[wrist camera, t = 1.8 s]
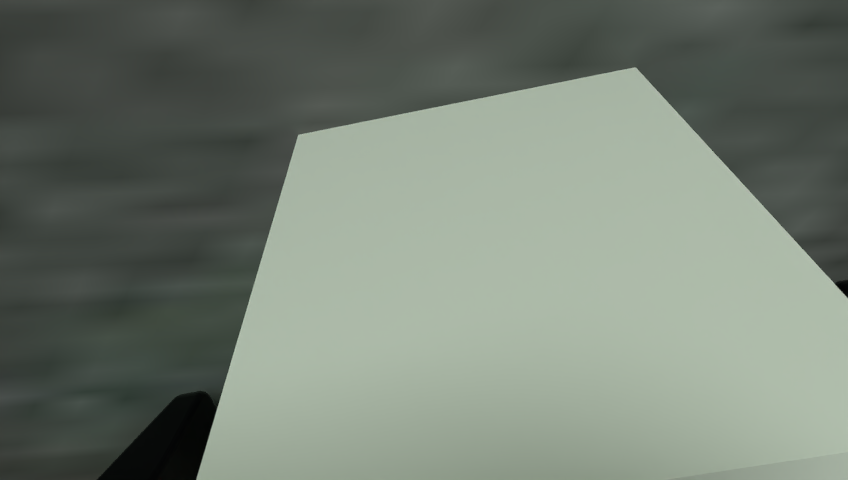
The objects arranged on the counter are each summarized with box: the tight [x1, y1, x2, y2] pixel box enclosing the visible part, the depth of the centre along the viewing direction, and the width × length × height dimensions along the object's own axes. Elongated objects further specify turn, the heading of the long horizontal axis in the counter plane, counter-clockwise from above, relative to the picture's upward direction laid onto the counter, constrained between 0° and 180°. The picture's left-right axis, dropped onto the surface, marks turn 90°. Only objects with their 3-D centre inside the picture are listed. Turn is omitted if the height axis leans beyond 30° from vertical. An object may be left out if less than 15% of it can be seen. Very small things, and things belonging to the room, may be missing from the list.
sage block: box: [196, 67, 848, 480], centre depth 8 cm, size 4×7×6 cm, turn 11°
